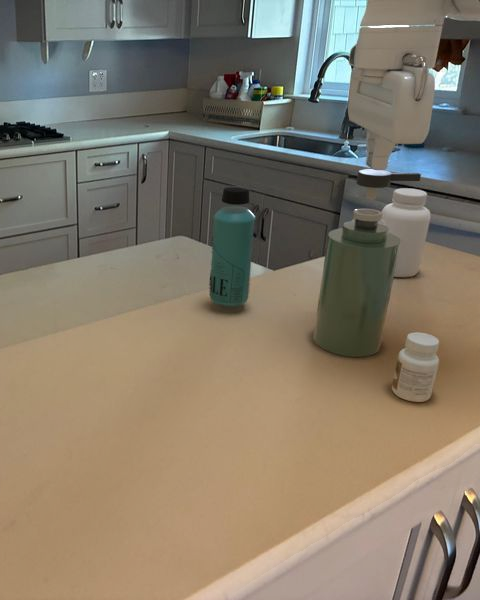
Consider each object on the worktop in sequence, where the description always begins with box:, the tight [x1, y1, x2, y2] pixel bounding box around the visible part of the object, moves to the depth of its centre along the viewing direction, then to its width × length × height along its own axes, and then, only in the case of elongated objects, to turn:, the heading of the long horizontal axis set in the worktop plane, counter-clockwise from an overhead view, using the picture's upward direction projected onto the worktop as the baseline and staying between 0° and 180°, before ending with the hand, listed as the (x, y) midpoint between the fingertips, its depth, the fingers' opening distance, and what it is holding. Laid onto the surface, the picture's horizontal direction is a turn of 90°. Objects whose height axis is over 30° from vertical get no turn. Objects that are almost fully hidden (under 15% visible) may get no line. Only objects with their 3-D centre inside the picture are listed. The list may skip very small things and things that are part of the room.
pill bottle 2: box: [391, 331, 440, 403], centre depth 75 cm, size 4×4×8 cm
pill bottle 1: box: [381, 187, 432, 278], centre depth 111 cm, size 8×8×15 cm
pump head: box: [355, 168, 422, 201], centre depth 80 cm, size 8×4×4 cm, turn 82°
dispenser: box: [312, 208, 401, 358], centre depth 86 cm, size 9×9×20 cm
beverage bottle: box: [208, 185, 256, 307], centre depth 98 cm, size 6×7×20 cm
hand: (375, 168), depth 79 cm, fingers closed
